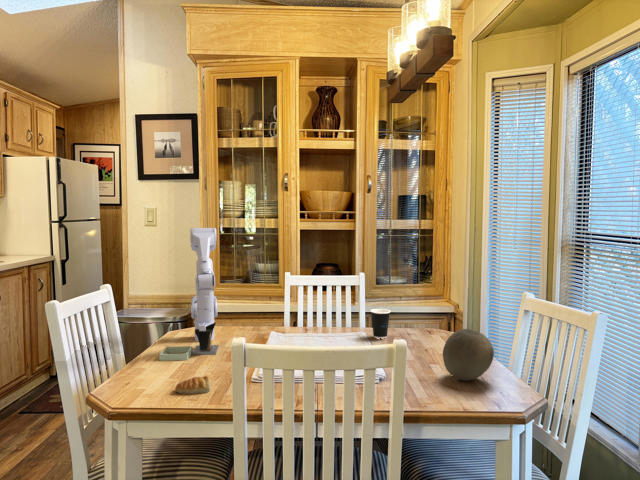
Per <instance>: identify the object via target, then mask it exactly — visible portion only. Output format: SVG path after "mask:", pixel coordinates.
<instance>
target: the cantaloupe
mask: <svg viewBox="0 0 640 480" xmlns="http://www.w3.org/2000/svg"><path fill="white" fill-rule="evenodd" d="M494 355H495V351H494V347H493V345H492V342H491V341H490V340H489V338H488V337H487V336H486V335H484V333H482V332H480V331H477V330H475V329H471V328H461V329H458V330H456V331H454V332H453V333H452V334H451V335H449V337H448V338H447V339H446V341H445V344H444V346H443V349H442V359H443V360H442V361H443V364H444V367H445V370H446V371H447V372H448V373H449V374H450V376H452V377H454V378H455V379H457V380H459V381H463V382H464V381H473V380H476V379H479V378H480V377H482V376H483V375H484V374H485V373H486V372H487V371H488V370H489V368H490V367H491V365H492V362H493V360H494Z"/></svg>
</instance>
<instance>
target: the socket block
mask: <svg viewBox="0 0 640 480" xmlns="http://www.w3.org/2000/svg"><path fill="white" fill-rule="evenodd" d="M219 348H220V344H211V350H200V345H199V344H198V345H195V347H194V349H192V354H191V355H192V356H199V355H200V356H206V355H207V356H208V355H209V356H211V355H212V356H213V355H214V356H215V355H217V352H218V351H219Z"/></svg>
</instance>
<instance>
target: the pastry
mask: <svg viewBox="0 0 640 480" xmlns="http://www.w3.org/2000/svg"><path fill="white" fill-rule="evenodd" d="M174 391H175V392H176V393H178V394H180V395H196V394H205V393H209V392H211V383H210V377H209V376H208V375H204V376H194V377H192V378H188V379H186V380H183V381H181V382H179V383H177V385H176V386H175V390H174Z"/></svg>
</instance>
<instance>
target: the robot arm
mask: <svg viewBox="0 0 640 480" xmlns="http://www.w3.org/2000/svg"><path fill="white" fill-rule="evenodd" d="M189 237H190V239H189V240H190V248H191V251H194V252H195V253H196V256H197V260H196V262H195V264H196V267H195V268H196V276H195V291H196V294H195V295H194V296H193V297H191V300H190V301H191V303H190V318H192V319H194V320H193V324H194V341H195V342H198V343H199V344H198V345H200V349H201V350H207V348H208V342H209V337H210V334H211V342H212V341H214V340H215V326H216V322H215V318H217V317H218V302H217V301H218V299H217V297H216V295H215V293H214V290H215V288H216V276H215V272H214V266H213V260H212V259H211V258H210V255H211V252H212V251H214V250H216V246H217V228H216V227H191V228H190V231H189Z"/></svg>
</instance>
